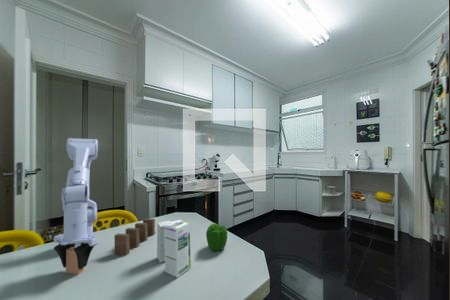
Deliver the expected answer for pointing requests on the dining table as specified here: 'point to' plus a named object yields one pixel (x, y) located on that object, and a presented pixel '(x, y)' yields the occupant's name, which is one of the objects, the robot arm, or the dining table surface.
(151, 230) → the domino
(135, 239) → the domino
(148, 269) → the dining table surface
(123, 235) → the domino
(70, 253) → the domino
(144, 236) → the domino
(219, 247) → the bell pepper
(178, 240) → the syrup box
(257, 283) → the dining table surface
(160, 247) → the skincare box
